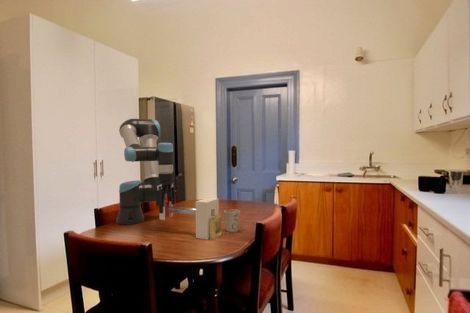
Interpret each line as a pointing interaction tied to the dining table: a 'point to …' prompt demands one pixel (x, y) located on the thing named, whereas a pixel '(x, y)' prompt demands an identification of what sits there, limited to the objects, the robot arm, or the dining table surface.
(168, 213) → the shaft
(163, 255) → the dining table surface
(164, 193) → the robot arm
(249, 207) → the dining table surface
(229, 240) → the dining table surface
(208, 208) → the block
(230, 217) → the mug
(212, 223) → the spacer
